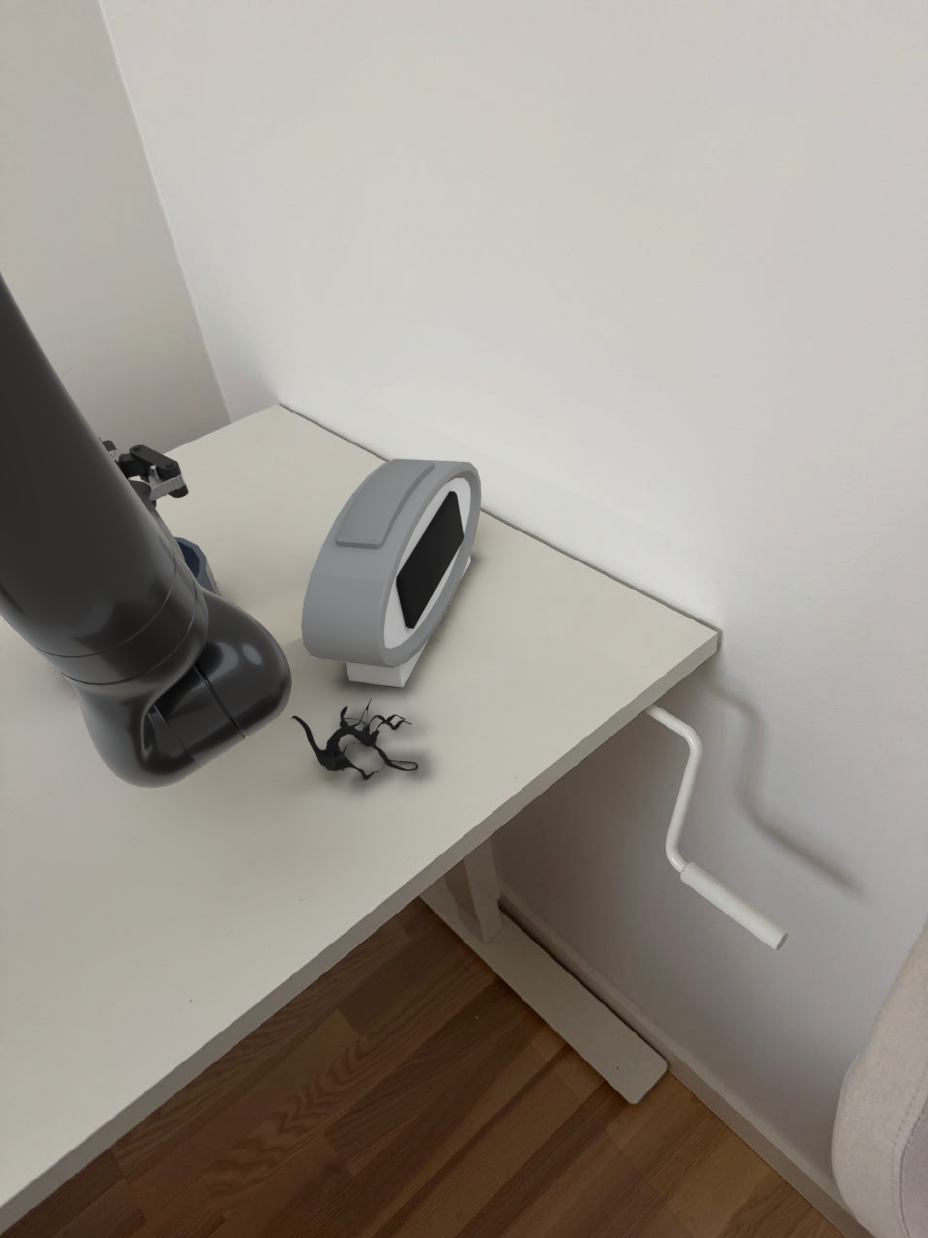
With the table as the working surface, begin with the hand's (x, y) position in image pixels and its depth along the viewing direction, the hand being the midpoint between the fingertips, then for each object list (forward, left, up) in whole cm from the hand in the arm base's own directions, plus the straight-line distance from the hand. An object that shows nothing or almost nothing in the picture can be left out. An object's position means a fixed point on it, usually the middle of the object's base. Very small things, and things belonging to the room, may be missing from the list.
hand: (66, 461), depth 74 cm
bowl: (0, -2, -17) cm, 17 cm away
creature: (+10, -27, -17) cm, 33 cm away
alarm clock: (+20, -15, -17) cm, 30 cm away
